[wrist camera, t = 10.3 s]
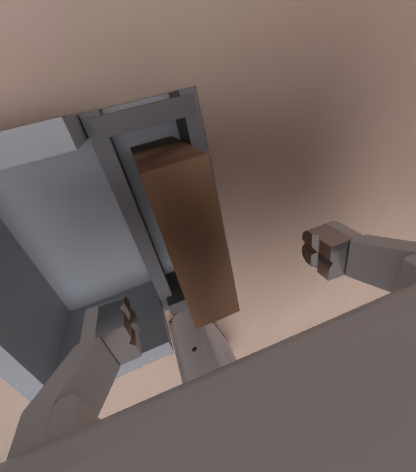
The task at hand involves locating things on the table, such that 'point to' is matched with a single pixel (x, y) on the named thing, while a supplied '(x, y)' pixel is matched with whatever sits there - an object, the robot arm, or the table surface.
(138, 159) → the brown rectangular block
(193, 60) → the table surface
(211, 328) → the photo printer
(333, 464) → the robot arm
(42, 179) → the cabinet
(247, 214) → the table surface
